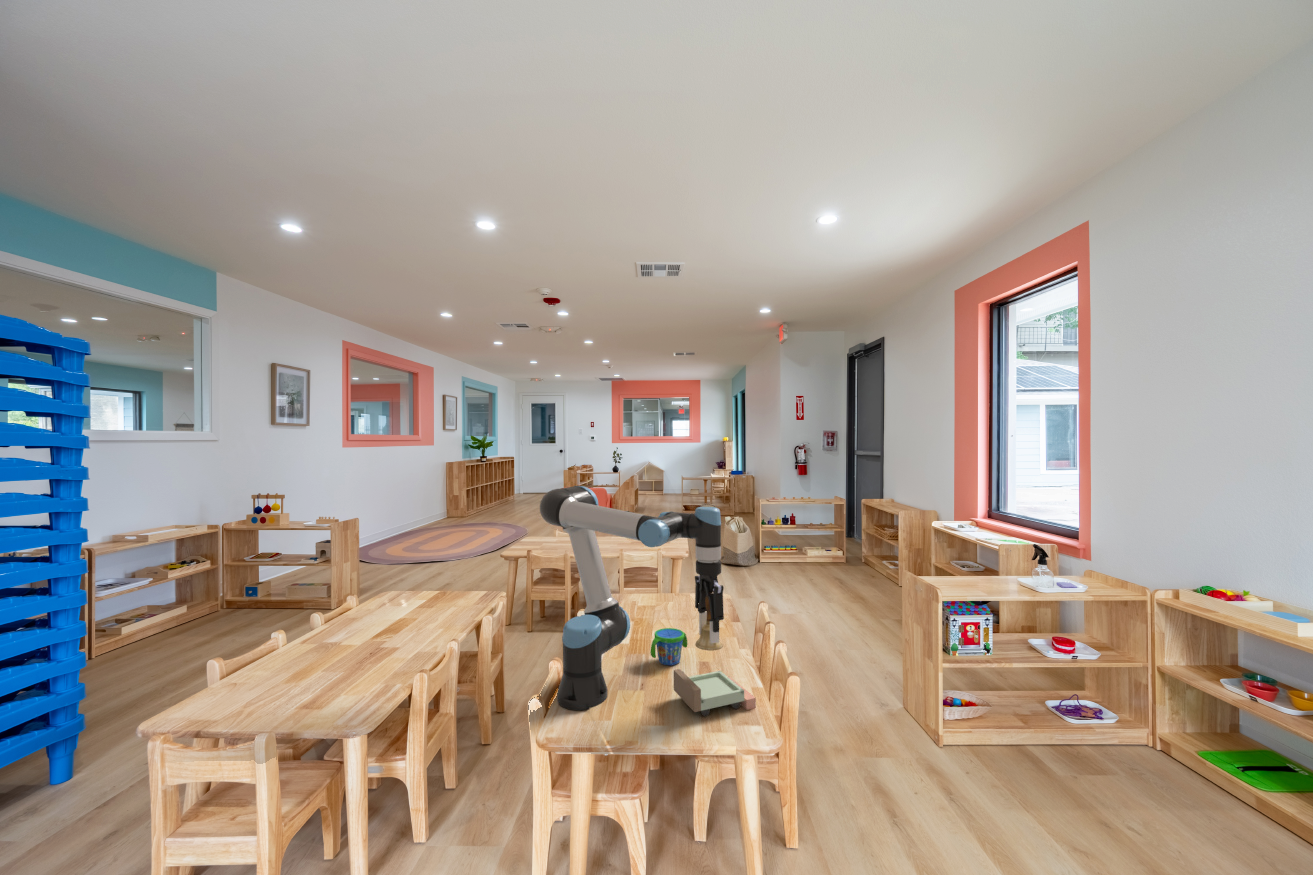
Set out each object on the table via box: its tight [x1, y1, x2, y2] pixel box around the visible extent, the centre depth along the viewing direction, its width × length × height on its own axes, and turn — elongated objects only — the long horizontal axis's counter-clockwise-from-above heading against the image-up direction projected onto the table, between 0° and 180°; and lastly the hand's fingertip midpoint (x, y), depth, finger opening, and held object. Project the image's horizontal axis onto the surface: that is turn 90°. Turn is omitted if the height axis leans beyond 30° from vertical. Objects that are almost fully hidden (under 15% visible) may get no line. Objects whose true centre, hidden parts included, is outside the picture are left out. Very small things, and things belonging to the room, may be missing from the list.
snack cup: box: [650, 627, 688, 666], centre depth 183 cm, size 16×10×10 cm
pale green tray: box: [673, 668, 744, 717], centre depth 152 cm, size 16×14×8 cm
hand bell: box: [694, 593, 724, 651], centre depth 153 cm, size 8×8×16 cm
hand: (709, 638), depth 153 cm, fingers closed on hand bell, 6 cm apart
